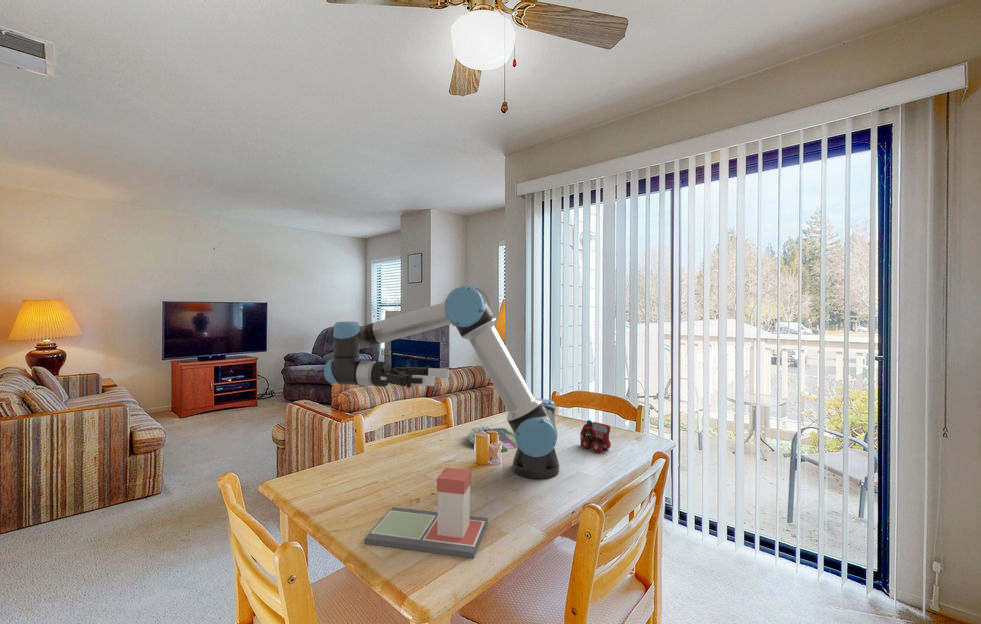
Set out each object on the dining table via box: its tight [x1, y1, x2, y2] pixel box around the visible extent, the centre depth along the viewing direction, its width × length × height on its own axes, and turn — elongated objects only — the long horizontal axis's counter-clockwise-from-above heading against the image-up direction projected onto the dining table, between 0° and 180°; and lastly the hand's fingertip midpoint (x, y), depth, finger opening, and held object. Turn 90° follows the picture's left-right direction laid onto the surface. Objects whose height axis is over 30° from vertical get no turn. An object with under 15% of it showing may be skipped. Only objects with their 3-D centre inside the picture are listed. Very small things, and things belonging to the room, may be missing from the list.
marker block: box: [436, 467, 472, 538], centre depth 98 cm, size 6×6×13 cm
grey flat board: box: [364, 506, 489, 559], centre depth 100 cm, size 25×15×1 cm, turn 79°
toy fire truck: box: [579, 419, 611, 454], centre depth 160 cm, size 7×12×10 cm, turn 41°
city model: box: [465, 425, 518, 453], centre depth 166 cm, size 25×23×6 cm
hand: (441, 377), depth 126 cm, fingers open, 13 cm apart
